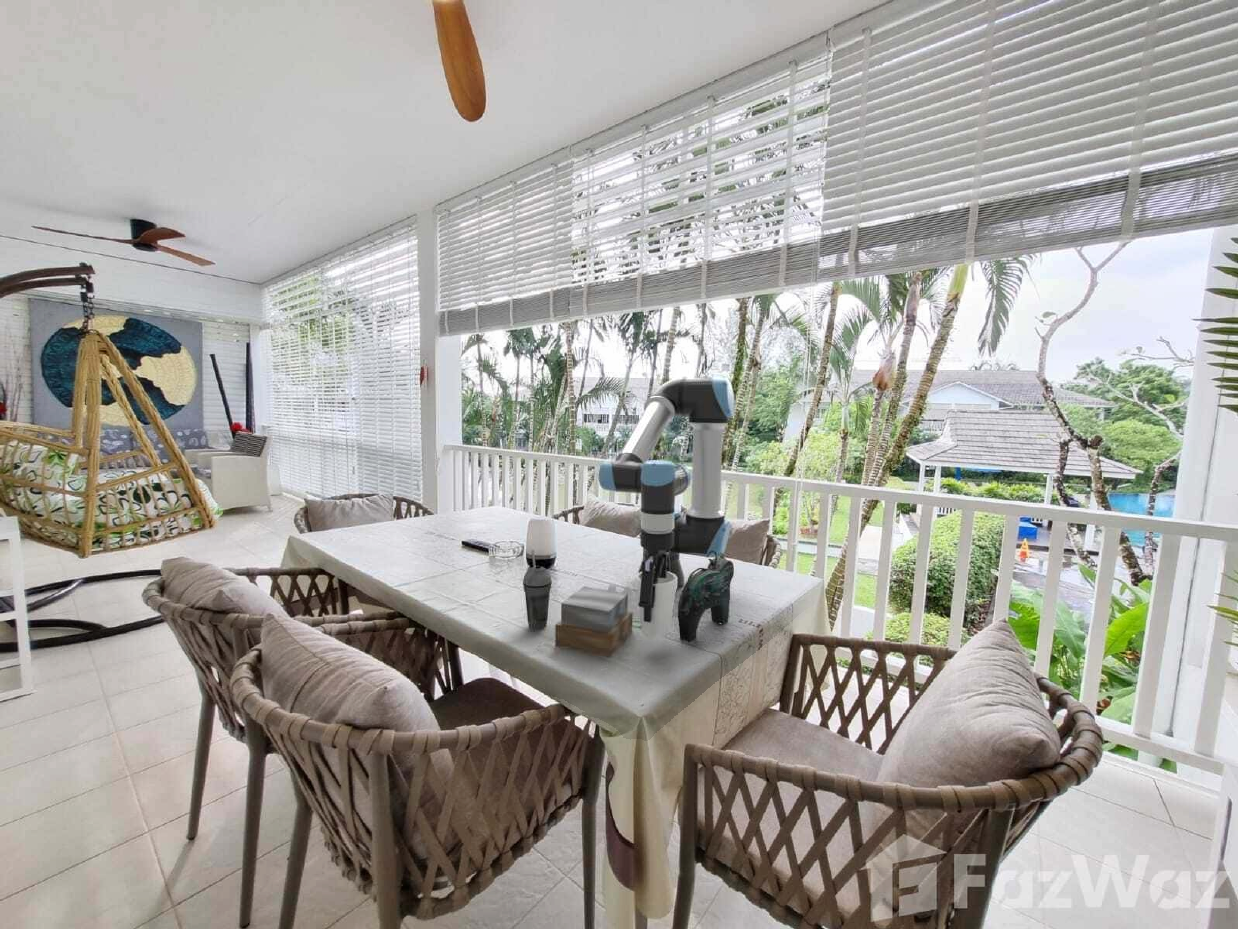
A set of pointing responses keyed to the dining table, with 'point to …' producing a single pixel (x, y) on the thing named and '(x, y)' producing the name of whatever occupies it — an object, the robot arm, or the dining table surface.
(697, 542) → the robot arm
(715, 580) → the green elephant statue
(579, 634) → the block tower
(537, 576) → the beverage cup
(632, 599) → the castle model
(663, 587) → the foam cup
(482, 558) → the dining table surface
